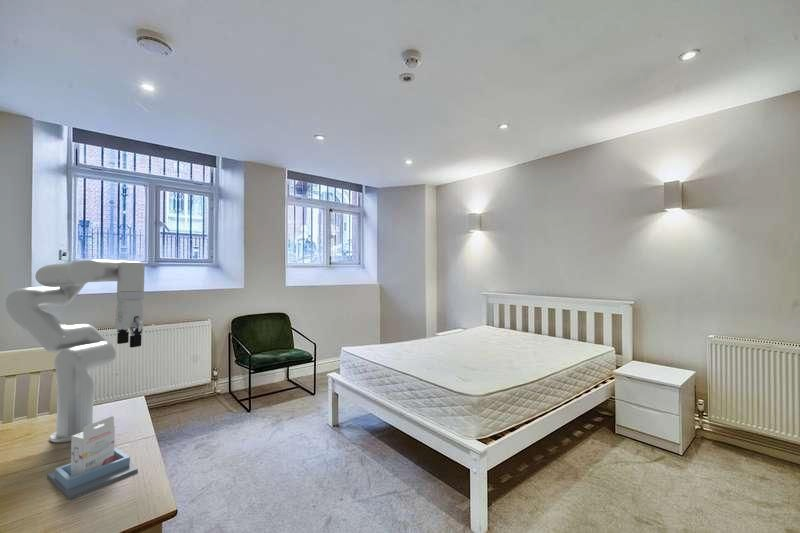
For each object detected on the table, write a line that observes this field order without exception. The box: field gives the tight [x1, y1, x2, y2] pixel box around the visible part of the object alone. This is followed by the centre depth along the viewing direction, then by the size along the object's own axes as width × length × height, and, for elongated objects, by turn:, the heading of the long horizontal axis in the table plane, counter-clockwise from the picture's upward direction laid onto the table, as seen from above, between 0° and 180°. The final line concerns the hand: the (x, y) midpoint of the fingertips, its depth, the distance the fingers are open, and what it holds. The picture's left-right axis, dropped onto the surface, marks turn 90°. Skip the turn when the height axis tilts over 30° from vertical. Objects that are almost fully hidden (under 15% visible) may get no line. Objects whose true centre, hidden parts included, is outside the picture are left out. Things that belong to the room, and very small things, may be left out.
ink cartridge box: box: [70, 416, 116, 477], centre depth 101 cm, size 9×5×15 cm, turn 164°
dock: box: [46, 447, 139, 501], centre depth 101 cm, size 18×15×4 cm
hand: (129, 345), depth 122 cm, fingers open, 9 cm apart
